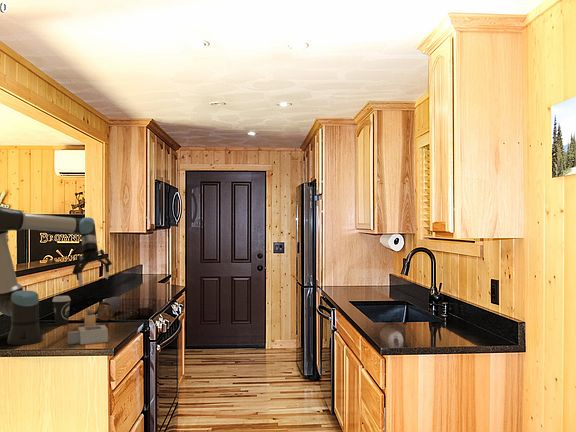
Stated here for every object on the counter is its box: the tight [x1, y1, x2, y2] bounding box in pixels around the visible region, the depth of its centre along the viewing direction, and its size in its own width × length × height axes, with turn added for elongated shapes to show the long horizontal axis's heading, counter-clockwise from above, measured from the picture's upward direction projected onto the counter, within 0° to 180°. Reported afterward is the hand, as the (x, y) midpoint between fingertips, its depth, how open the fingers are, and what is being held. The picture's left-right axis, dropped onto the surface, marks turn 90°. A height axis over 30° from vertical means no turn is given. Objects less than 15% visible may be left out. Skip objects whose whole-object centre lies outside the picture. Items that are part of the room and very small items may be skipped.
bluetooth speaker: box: [98, 296, 123, 316], centre depth 332 cm, size 23×9×10 cm, turn 2°
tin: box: [96, 304, 114, 322], centre depth 316 cm, size 15×3×8 cm, turn 44°
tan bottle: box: [84, 309, 96, 327], centre depth 274 cm, size 5×5×12 cm
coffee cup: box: [51, 295, 72, 326], centre depth 305 cm, size 10×10×15 cm
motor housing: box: [67, 324, 109, 346], centre depth 261 cm, size 12×17×6 cm
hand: (93, 281), depth 287 cm, fingers open, 13 cm apart
